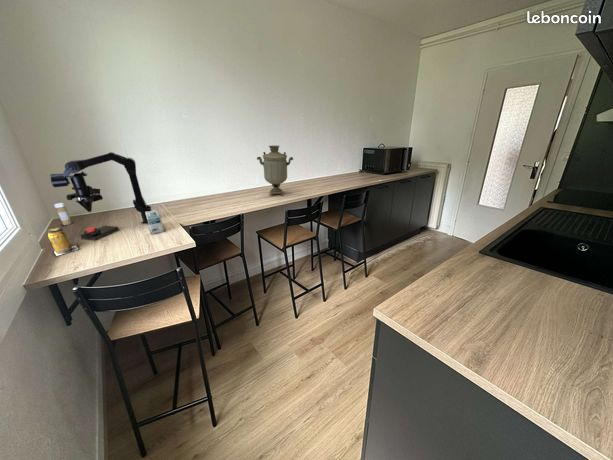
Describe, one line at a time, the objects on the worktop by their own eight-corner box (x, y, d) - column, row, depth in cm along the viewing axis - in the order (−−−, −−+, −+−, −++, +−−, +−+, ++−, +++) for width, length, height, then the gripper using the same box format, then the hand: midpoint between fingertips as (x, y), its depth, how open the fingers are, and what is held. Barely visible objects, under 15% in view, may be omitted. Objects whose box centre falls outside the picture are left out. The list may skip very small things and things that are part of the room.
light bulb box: (164, 231, 146) (160, 214, 142) (151, 234, 143) (146, 216, 138) (162, 225, 154) (157, 209, 150) (149, 228, 151) (144, 211, 146)
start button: (98, 230, 140) (96, 227, 139) (91, 233, 136) (89, 229, 135) (92, 229, 141) (91, 226, 140) (85, 232, 137) (83, 229, 136)
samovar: (298, 190, 229) (297, 144, 213) (290, 198, 206) (288, 147, 190) (267, 188, 236) (264, 143, 219) (256, 196, 212) (251, 146, 196)
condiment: (54, 251, 125) (43, 229, 120) (75, 245, 131) (66, 224, 126) (56, 256, 121) (45, 233, 116) (79, 249, 127) (69, 228, 122)
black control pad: (119, 230, 149) (116, 224, 147) (95, 240, 136) (92, 234, 134) (105, 228, 151) (103, 222, 149) (80, 239, 138) (78, 232, 136)
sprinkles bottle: (73, 222, 161) (64, 202, 155) (70, 224, 157) (62, 204, 152) (64, 223, 159) (55, 203, 154) (61, 225, 155) (52, 205, 150)
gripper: (107, 182, 142) (116, 208, 148) (81, 180, 146) (91, 206, 152) (87, 187, 132) (97, 214, 138) (60, 185, 136) (71, 212, 143)
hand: (90, 211), depth 143 cm, fingers closed
